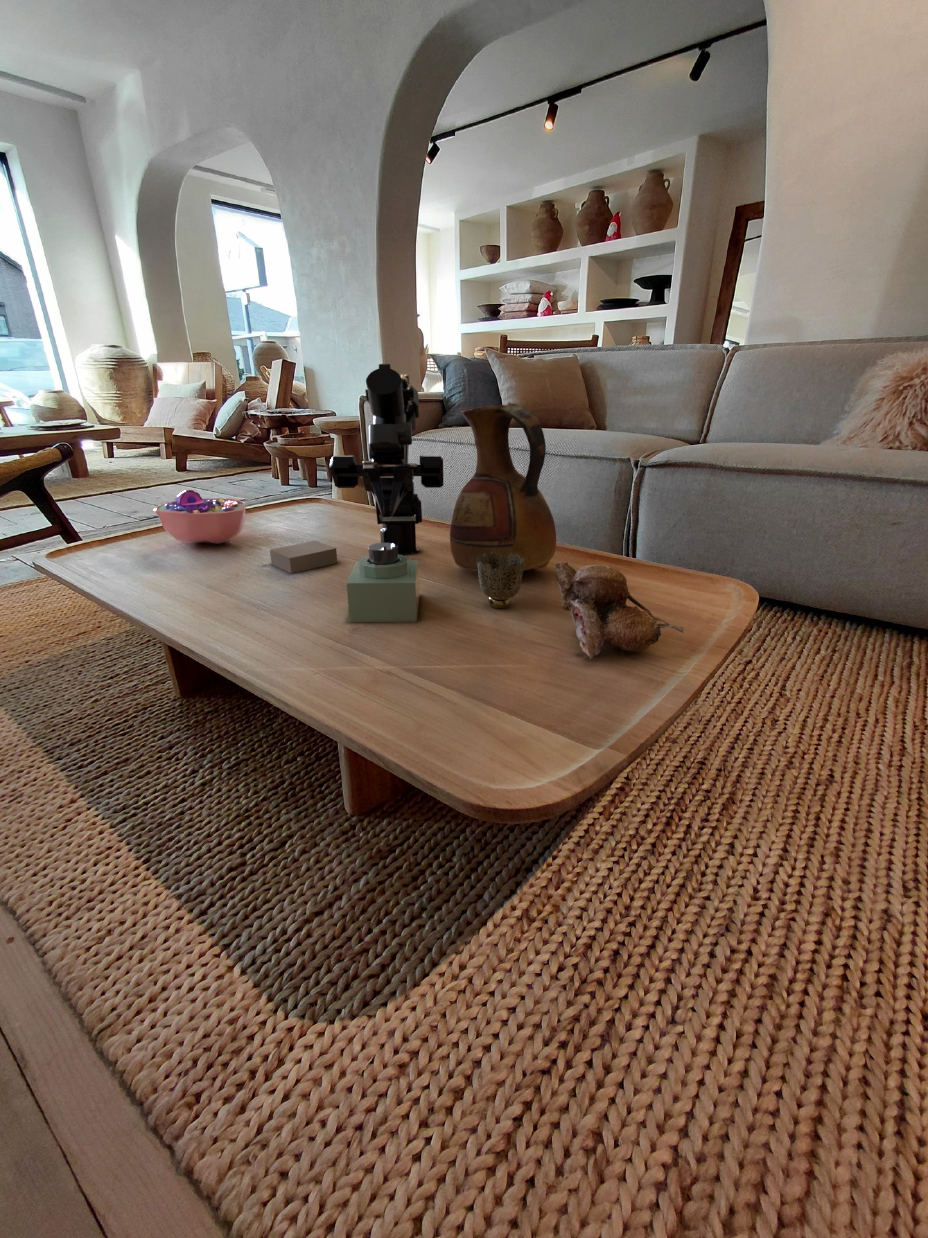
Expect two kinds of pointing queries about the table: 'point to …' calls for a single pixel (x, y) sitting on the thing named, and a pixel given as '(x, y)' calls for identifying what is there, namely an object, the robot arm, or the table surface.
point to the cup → (500, 577)
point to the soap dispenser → (383, 591)
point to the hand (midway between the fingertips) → (386, 514)
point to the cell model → (202, 518)
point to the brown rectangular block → (303, 556)
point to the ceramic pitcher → (503, 494)
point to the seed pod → (606, 609)
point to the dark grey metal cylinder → (383, 553)
